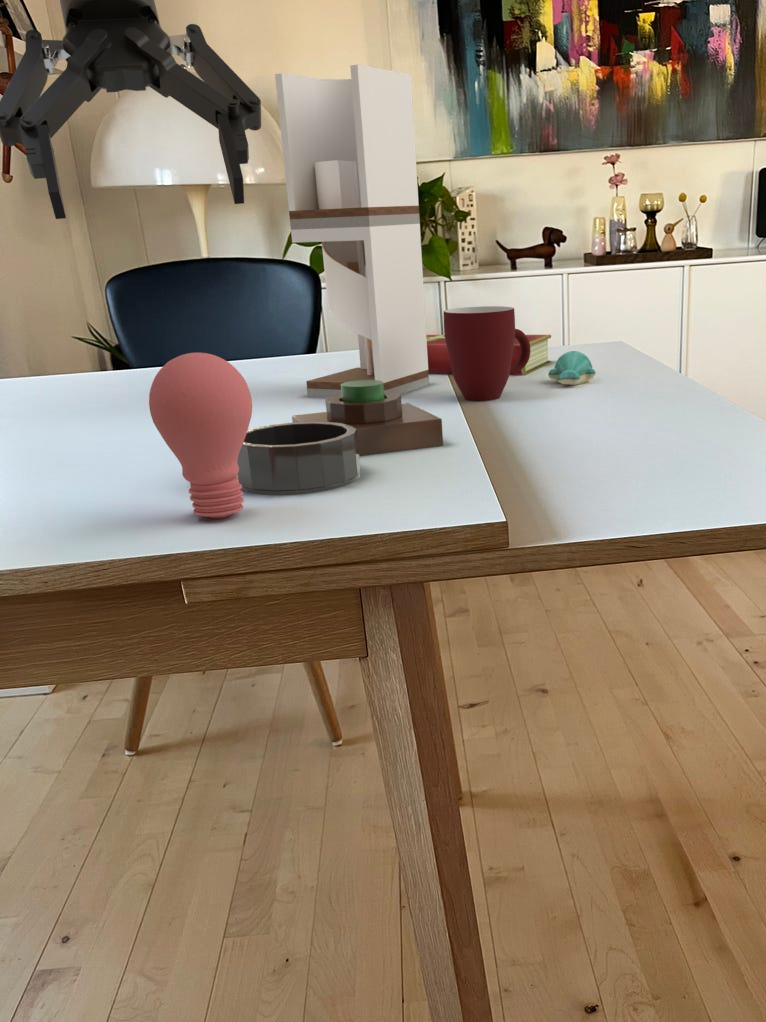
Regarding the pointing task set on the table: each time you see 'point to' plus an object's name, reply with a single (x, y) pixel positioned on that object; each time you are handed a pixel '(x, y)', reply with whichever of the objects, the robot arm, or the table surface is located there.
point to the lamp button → (362, 391)
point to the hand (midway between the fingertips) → (150, 198)
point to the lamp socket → (298, 458)
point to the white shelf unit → (360, 215)
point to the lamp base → (382, 424)
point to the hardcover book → (538, 359)
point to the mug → (483, 349)
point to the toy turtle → (572, 369)
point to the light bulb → (204, 427)
